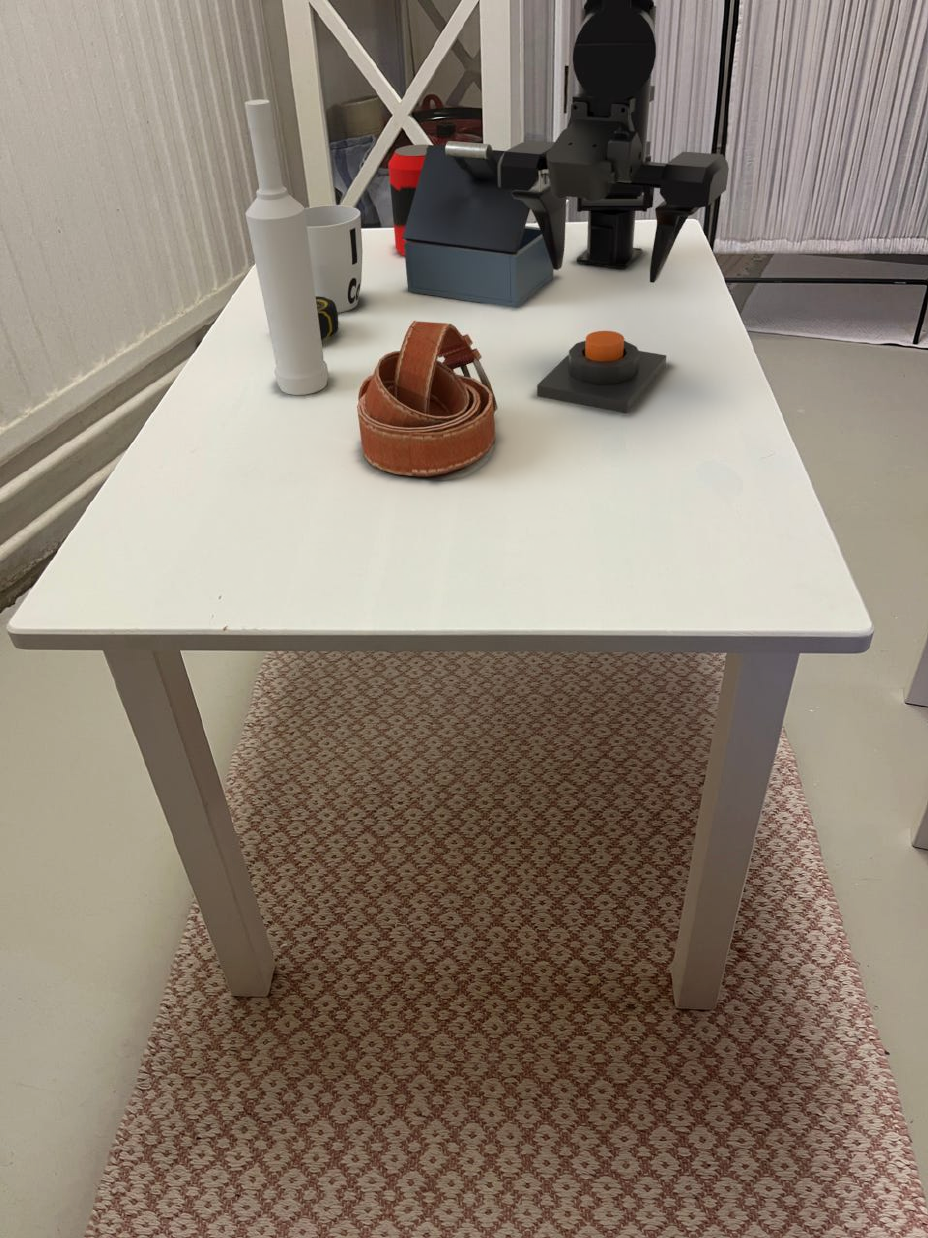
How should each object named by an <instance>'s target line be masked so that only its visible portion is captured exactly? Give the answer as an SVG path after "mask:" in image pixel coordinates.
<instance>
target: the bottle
mask: <svg viewBox="0 0 928 1238" xmlns="http://www.w3.org/2000/svg"><path fill="white" fill-rule="evenodd" d="M244 108H245V114H246V120H247V124H248V129H249V132H250V139H251V144H252V150H253V151H252V152H253V156H254V162H255V168H256V174H257V180H258V185H259V187H258V189H257V190H256V198H255V199H254V201H253V202H252V203H251V205H250V206H249V207H248V209H247V210H246V212H245V218H246V225H247V228H248V233H249V238H250V243H251V248H252V252H253V257H254V263H255V268H256V272H257V277H258V283H259V286H260V292H261V297H262V302H263V307H264V312H265V316H266V323H267V327H268V332H269V336H270V341H271V346H272V350H273V355H274V361H275V365H276V366H275V369H274V376H275V380H276V382H277V385H278V387H279V389H280V390H281V392H283V393H285V394H288V395H291V396H292V395H293V396H305V395H310V394H314V393H317V392H319V391H322V390H323V389H324V388H326V386H327V383H328V379H329V368H328V364H327V362H326V361H325V360H324V351H323V345H322V341H321V336H320V328H319V320H318V312H317V304H316V296H315V288H314V280H313V272H312V264H311V256H310V248H309V241H308V233H307V225H306V217H305V206H303V205H302V203H300V202H299V201H298V200H296V199H295V198H294V197H292V196H291V195H290V194H289V193H288V188H287V187H285V186H284V185H283V180H282V175H281V169H280V161H279V156H278V150H277V145H276V143H277V142H276V136H275V130H274V120H273V114H272V107H271V101H270V100H268V99H253V100H252V99H251V100H247V101H245V102H244Z"/></svg>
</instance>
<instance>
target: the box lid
mask: <svg viewBox="0 0 928 1238" xmlns="http://www.w3.org/2000/svg"><path fill="white" fill-rule="evenodd" d="M427 145H428V149H427V152H426V156H425V159H424V163H423V166H422V170H421V173H420V177H419V180H418V184H417V187H416V191H415V194H414V198H413V201H412V205H411V209H410V212H409V216H408V219H407V223H406V226H405V230H404V233H403V237H402V238H403V239H404V240H406V241H413V242H421V243H429V244H437V245H444V246H452V247H460V248H468V249H476V250H483V251H491V252H499V253H507V254H515V255H517V253H518V250H519V246H520V243H521V239H522V236H523V232H524V229H525V226H527V221H528V218H529V215H530V211H531V209H530V208H529V207H528V206H527V205H526V204H525V203H524V202H523V201H521V200H519V199H514V198H513V196H512V192H513V191H515V190H513V189H503V188H500V187H498V163H499V160H500V157H501V156H502V155H503V153H504V152H505V151H506V150H499V149H498V150H497V149H493V147H492V145H491V144H490V143H481V142H480V143H478V142H467V141H466V142H465V141H453V140H448V141H447V142H446V144H445V145H437V144H436V145H435V144H427Z"/></svg>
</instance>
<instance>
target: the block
mask: <svg viewBox="0 0 928 1238" xmlns="http://www.w3.org/2000/svg"><path fill="white" fill-rule="evenodd" d="M585 342H586V339H585V340H582V341H579V342H576V343H574V345H573V346H572V347H571V348H570V349H569V350H568V354H567V355H566V356H565V357H564V358H563V359H562V360H561V361H560V362H559V363H558V364H557V365H556V366H555V367H554V368H553V369H552V370H551V371H550V372H549V373H548V374H547V375H546V376H545V377H544V378H543V379H542V380H541V381H540V382H539V383H538V384H537V385H536V396H537V397H539V398H543V399H550V400H555V401H560V402H566V403H570V404H576V405H581V406H587V407H592V408H596V409H601V410H608V411H612V412H617V413H623V414H628V413H629V412H630V410H631V409H632V408H633V406H635V404H636V403H637V402H638V401H639V399H640V398H641V397H642V395H643V394H644V393H645V392H646V390H648V388H649V387H650V386H651V385H652V383H653V382H654V381H655V380H656V378H657V377H658V376H659V375H660V373H661V372H662V371H663V370H664V368H666V364H667V363H666V362H667V354H661V353H654V352H650V351H643V350H639V349H638V347H637V345H634V344H632V343H630V342H629V341H626V340H624V350H623V357H622V358H621V359H618V360H615V361H604V362H600V361H595V360H590V359H588V358H587V357H585Z"/></svg>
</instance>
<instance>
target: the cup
mask: <svg viewBox="0 0 928 1238" xmlns="http://www.w3.org/2000/svg"><path fill="white" fill-rule="evenodd" d="M304 209H305V217H306V225H307V233H308V241H309V248H310V256H311V264H312V272H313V280H314V288H315V296H320V297H325V298H327V299H330V300H332V301H333V302H334V303H335V305H336V308H337V313H338V314H340V313H344V312H348V311H351V310H353V309H354V308H356V307H357V306H358V303H359V297H360V291H361V286H362V276H363V275H362V274H363V238H362V237H363V235H362V219H361V218H362V217H361V210H360V209H358V208H356V207H354V206H351V205H350V206H349V205H344V204H343V205H342V204H326V205H315V206H310V207H304Z"/></svg>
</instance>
